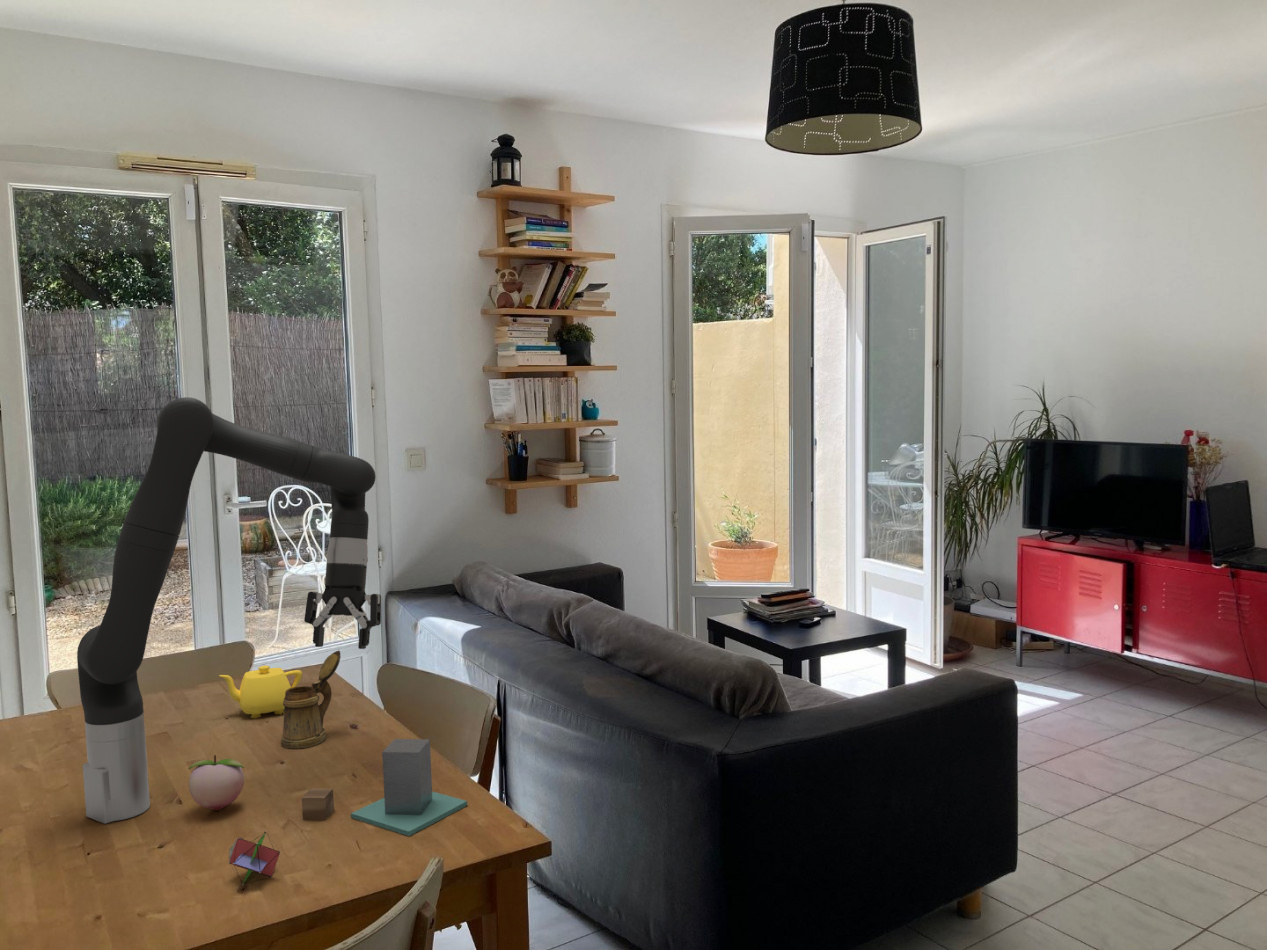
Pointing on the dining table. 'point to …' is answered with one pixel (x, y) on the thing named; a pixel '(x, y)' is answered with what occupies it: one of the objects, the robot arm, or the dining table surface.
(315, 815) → the walnut block
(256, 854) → the geometric puzzle
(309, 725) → the wooden mug
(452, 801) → the teal mat
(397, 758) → the block
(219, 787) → the decorative fruit
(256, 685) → the teapot
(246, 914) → the dining table surface
